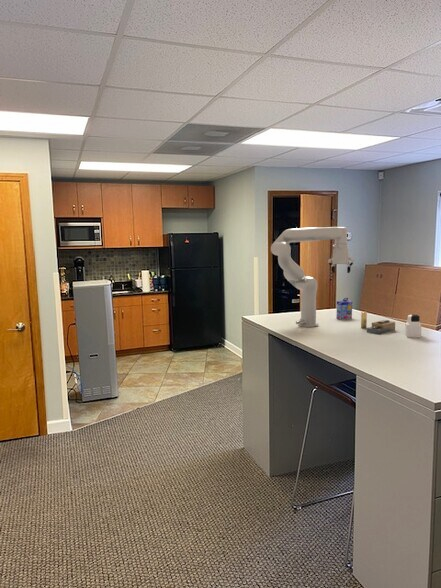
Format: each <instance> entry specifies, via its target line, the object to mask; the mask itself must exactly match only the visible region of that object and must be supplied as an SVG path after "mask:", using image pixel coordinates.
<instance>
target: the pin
mask: <svg viewBox="0 0 441 588" xmlns="http://www.w3.org/2000/svg"><path fill="white" fill-rule="evenodd" d="M360 316H361V317H360V320H361V321H360V329H364V330H365V329H366V330H367V328H368V327H367V326H368V325H367V324H368V323H367V321H368V320H367V318H368V312H367V311H361V314H360Z"/></svg>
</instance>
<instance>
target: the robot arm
mask: <svg viewBox="0 0 441 588" xmlns="http://www.w3.org/2000/svg"><path fill="white" fill-rule="evenodd" d="M274 240H275V241H273V243H271V245H270V252H271V253H272V254H273V255H274V256H277V261H278V265H279V267H280V268H281V269H282V270H283V276H284V278H285V279H286V280H287V282H289V284H291V285H292V286H293V287H294V288H296V289H297V290H299V291H302V292H301V295H300V318H299V320H295V324H296V325H298V326H299V327H301V328H315V327H318V326H320V325H319V323H318V322H317V291H318V281H317V280H316V278H314V277H312V276H308V275H305V271H304V269H303V268H302V267H301V266H300V265H299V264H297V263H296V262H295V261H294V260H293V258H292V257H291V251H292V250H291V249H292V247H291V245H290V243H300V242H301V243H302V242H319V241H323V240H325V241H326V240H334V244H332V247H333V250H332V257H331V258H329V259H328V260H327V262H328V265H329V266H330V267H331V272H332V274H334V273H336V265H346V266H347V267H346V268H347V269H346V270H347V272H346V273H347V274H350V272H351V267H352V265H354V263H355V261H356V259H354V258H352V257H350V253H349V248H348V229H347V227H346V226H329V227H328V226H327V227H299V228H298V227H296V228H288V229H285V230H284V231H282V232H281V234H280V235H279V236H278V237H277V238H276V239H274ZM350 261H351V262H350Z"/></svg>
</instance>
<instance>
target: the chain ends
mask: <svg viewBox="0 0 441 588" xmlns="http://www.w3.org/2000/svg"><path fill="white" fill-rule="evenodd" d="M394 331H396V322H395V321H390V320H388V319H382V320H378V321H373V322H371V326H370V327H367V328H366V333H370V334H376V335H381V334H385V333H389V332H394Z"/></svg>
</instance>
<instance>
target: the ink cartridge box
mask: <svg viewBox="0 0 441 588" xmlns="http://www.w3.org/2000/svg"><path fill="white" fill-rule="evenodd" d="M335 316H336V319H338V320H342V321H343V320H348V319H352V318H353V301H352V300H349V297H344V298H343V299H342V300H338V301H336V315H335Z"/></svg>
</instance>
